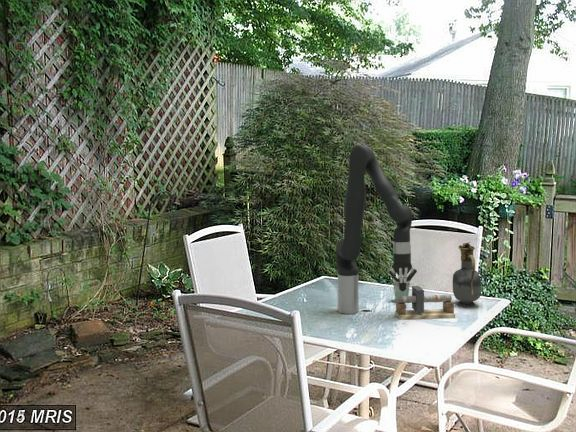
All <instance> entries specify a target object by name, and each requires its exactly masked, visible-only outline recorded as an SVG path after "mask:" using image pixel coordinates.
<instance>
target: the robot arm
mask: <svg viewBox="0 0 576 432" xmlns="http://www.w3.org/2000/svg"><path fill="white" fill-rule="evenodd" d="M349 152H350V153H349V157H348V158H349V160H348V177H347V184H346V191H345V192H346V193H345V197H344V205H343V215H344V223H345V224H344V225H345V230H344V237H343V238H341V239H340V240H339V241H338V242H337V244H336V247H335V263H336V269H337V295H336V297H337V299H336V300H337V311H338V314H346V315H352V314H353V315H354V314H357V313H359V312H360V311H359V310H360V308H359V307H360V305H359V302H360V301H359V298H360V297H359V294H360V293H359V267H358V265H357V262H356V259H357V258H358V257H359V255H360V252H361V245H362V244H361V243H362V241H361V239H362V226H363V221H364V214H365V209H366V204H367V203H366V201H367V192H366V191H367V190H366V184H365V173H366V174H368V176H369V177H370V179H371V181H372V184H373V186H374V189H375V190H376V192H377V194H378V196H379V197H380V199H381V200H382V202H383V204H384V205H385V209H386V211H387V213H388V215H389V217H390V218H391V220H392V222H395V223H396V227H395V228H394V230H393V246H392V254H393V255H392V256H393V257H392V259H393V260H392V261H393V262H392V263H393V264H392V266H391V268H390V269H388V270H387V272H388V274H389V275H390V276H391V278H392V280H393V279H394V280H395V281H396V282H399V290H400V291H405V290H406V282H408V281H411V280H412V279H413V278H414V277H415V275H416V274H417V273H418V270H417V269H415V268H414V267H413V264H412V253H411V252H412V246H411V228H412V222H413V210H412V209H411V207H409V206H408V205H405V204H404V205H403V204H402V205H401V204H400V202H399V199H400V196H399V194H398V192H397V190H395V188H394V186H393V185H392V183H391V182H390V181H389V178H387V176H386V174H385V173H384V171H383V169H382V168H381V165H380V164H379V161H378V159H377V157H376V155H375V152H374V151H373V149H372V148H371V147H369V146H366V145H363V144H357V145H354V146H353V147H352V148H351V150H350V151H349ZM395 273H396V275H395ZM396 276H398V279H397V278H396ZM402 276H403V278H402ZM407 276H408V277H407Z"/></svg>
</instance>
